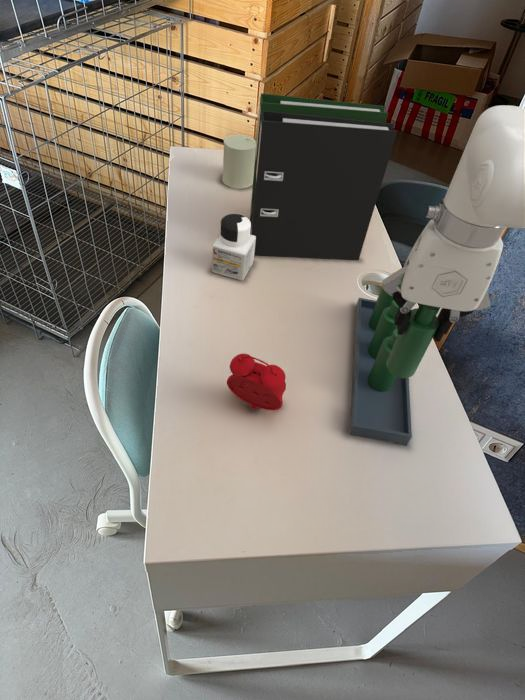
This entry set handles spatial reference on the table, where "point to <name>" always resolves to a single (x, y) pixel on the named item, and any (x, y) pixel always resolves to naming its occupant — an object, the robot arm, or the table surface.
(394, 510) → the table surface
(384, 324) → the bottle
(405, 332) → the loose bottle
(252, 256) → the container
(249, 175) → the can
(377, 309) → the bottle
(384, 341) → the bottle
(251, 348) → the table surface
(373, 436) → the tray
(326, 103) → the binder
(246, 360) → the alarm clock
